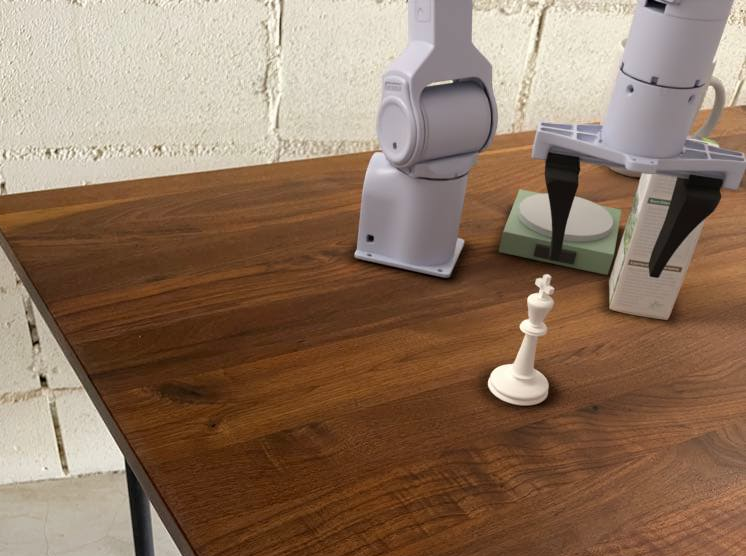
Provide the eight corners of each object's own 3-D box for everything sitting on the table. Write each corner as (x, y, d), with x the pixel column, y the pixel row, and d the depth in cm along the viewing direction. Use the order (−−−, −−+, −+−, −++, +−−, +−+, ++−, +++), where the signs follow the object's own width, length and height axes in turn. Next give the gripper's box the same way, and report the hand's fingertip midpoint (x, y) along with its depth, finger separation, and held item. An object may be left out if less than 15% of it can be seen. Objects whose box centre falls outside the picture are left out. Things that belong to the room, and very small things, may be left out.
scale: (497, 253, 89) (503, 226, 87) (515, 208, 97) (521, 182, 95) (607, 277, 87) (616, 249, 85) (615, 229, 95) (623, 203, 93)
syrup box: (669, 322, 82) (730, 164, 72) (605, 310, 82) (657, 153, 72) (666, 292, 86) (723, 139, 76) (605, 281, 87) (653, 128, 76)
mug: (678, 148, 114) (717, 36, 104) (722, 185, 106) (768, 67, 97) (572, 149, 110) (602, 33, 101) (609, 187, 103) (645, 65, 94)
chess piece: (510, 411, 70) (540, 297, 63) (476, 377, 73) (501, 265, 66) (559, 398, 72) (594, 286, 65) (524, 365, 75) (553, 255, 68)
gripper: (552, 76, 57) (507, 271, 66) (783, 110, 55) (703, 304, 65) (554, 45, 62) (512, 230, 71) (766, 75, 60) (694, 260, 70)
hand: (603, 263), depth 68 cm, fingers open, 7 cm apart
